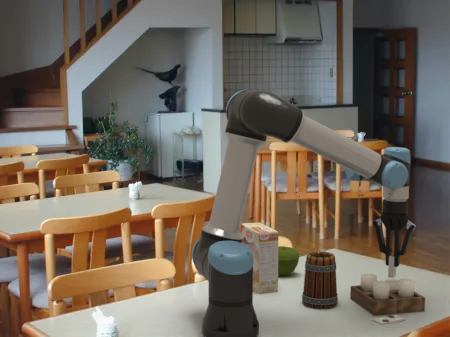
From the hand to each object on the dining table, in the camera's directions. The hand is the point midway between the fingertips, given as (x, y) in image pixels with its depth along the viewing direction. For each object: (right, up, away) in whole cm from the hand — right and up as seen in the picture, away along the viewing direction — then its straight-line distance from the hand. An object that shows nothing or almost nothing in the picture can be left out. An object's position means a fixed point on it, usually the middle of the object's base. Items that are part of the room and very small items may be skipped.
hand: (391, 276), depth 222 cm
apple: (-31, -4, +28) cm, 42 cm away
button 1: (-7, -4, -1) cm, 9 cm away
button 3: (0, -6, +1) cm, 7 cm away
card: (-5, -10, -18) cm, 21 cm away
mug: (-22, -8, -1) cm, 23 cm away
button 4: (+2, -5, -7) cm, 9 cm away
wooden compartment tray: (-3, -8, -4) cm, 9 cm away
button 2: (-5, -5, -9) cm, 12 cm away
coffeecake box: (-40, -6, +14) cm, 42 cm away
